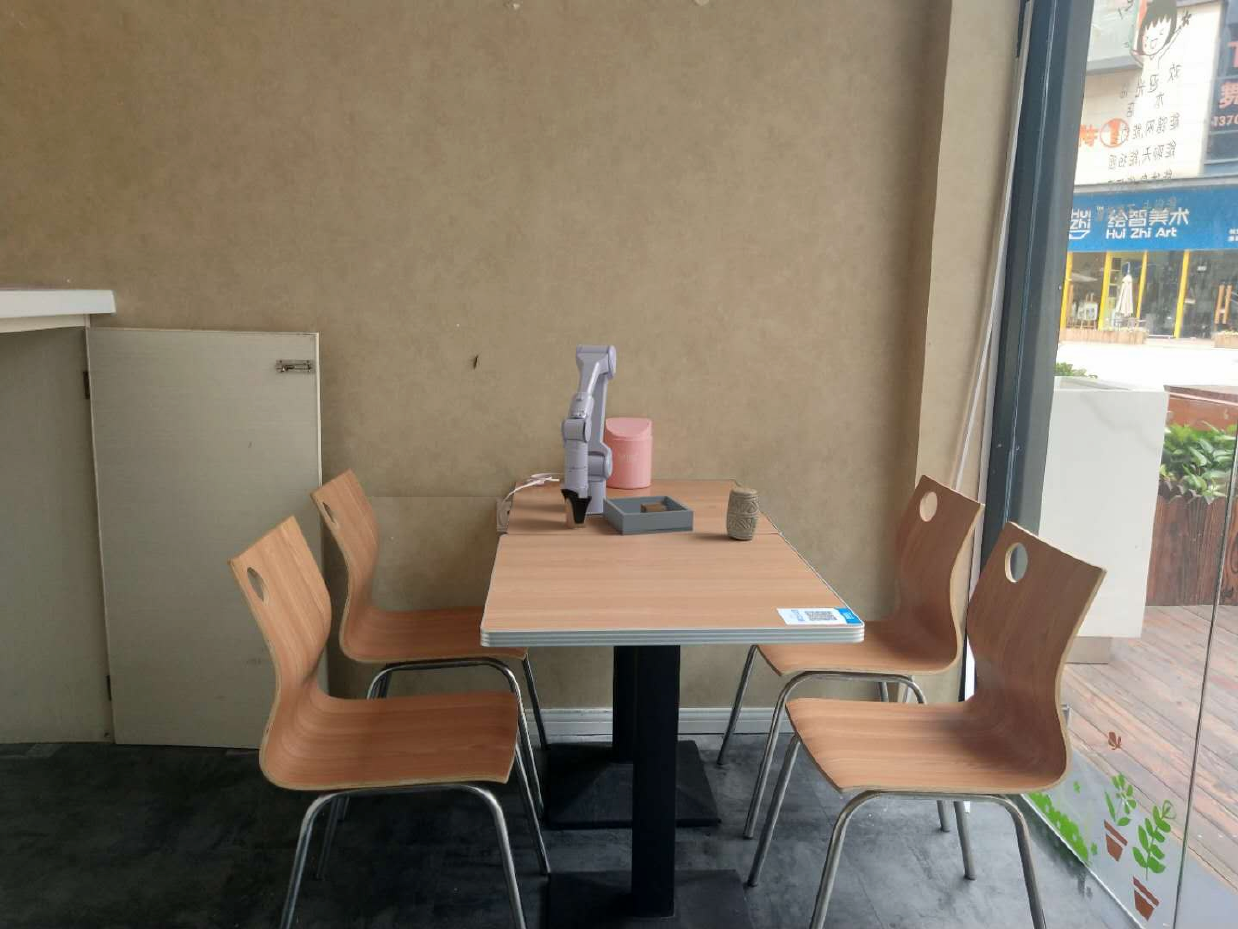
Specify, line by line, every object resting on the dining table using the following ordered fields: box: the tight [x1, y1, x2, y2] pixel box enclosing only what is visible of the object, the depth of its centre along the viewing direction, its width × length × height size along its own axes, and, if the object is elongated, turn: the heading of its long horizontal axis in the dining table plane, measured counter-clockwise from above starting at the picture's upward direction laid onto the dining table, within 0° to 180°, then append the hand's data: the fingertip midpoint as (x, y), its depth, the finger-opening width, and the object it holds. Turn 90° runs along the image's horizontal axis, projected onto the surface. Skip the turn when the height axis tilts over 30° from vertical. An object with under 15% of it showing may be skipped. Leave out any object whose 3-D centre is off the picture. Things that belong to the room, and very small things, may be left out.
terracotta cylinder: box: [565, 498, 587, 529], centre depth 225 cm, size 5×5×7 cm
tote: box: [602, 494, 694, 536], centre depth 228 cm, size 18×18×5 cm
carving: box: [725, 486, 759, 541], centre depth 216 cm, size 6×8×12 cm
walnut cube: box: [640, 503, 666, 513], centre depth 224 cm, size 5×5×5 cm
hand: (575, 520), depth 225 cm, fingers open, 6 cm apart
